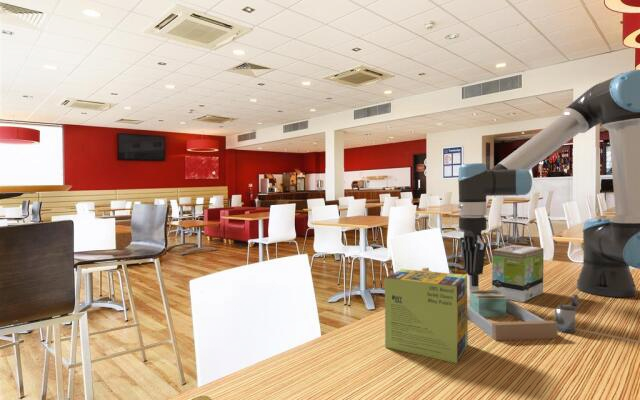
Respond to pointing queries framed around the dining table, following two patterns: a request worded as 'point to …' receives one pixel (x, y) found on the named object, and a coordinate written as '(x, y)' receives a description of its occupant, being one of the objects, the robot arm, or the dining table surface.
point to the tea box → (518, 272)
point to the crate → (488, 303)
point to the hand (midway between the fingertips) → (473, 296)
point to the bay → (515, 325)
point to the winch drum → (566, 316)
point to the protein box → (426, 313)
